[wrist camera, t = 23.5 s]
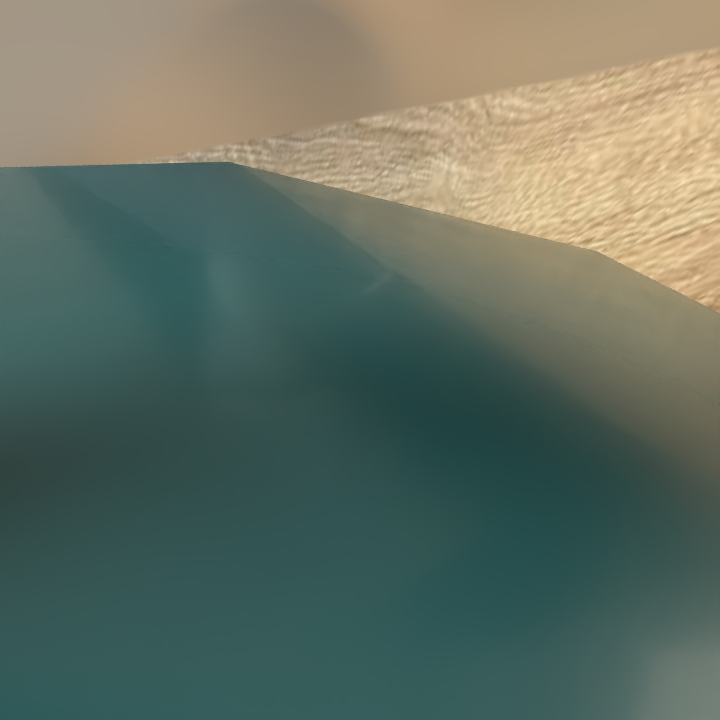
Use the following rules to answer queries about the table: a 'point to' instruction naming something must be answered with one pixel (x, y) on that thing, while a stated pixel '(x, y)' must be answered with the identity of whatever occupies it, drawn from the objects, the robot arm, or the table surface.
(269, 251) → the lid
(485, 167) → the table surface
